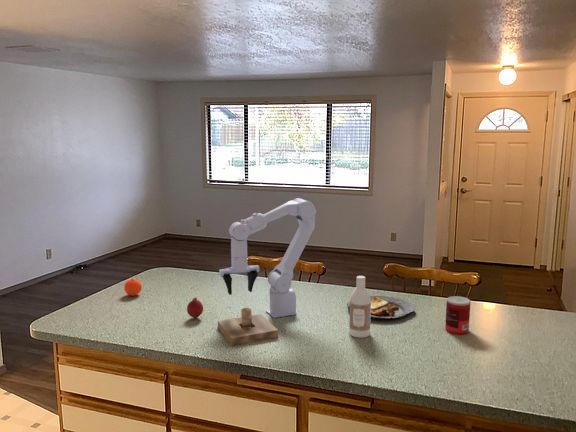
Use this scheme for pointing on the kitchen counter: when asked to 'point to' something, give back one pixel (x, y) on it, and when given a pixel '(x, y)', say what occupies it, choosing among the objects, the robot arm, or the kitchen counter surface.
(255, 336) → the board
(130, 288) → the clementine
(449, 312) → the canned food
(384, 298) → the food plate
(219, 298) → the kitchen counter surface
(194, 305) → the pomegranate
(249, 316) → the peg
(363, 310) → the bath foam
